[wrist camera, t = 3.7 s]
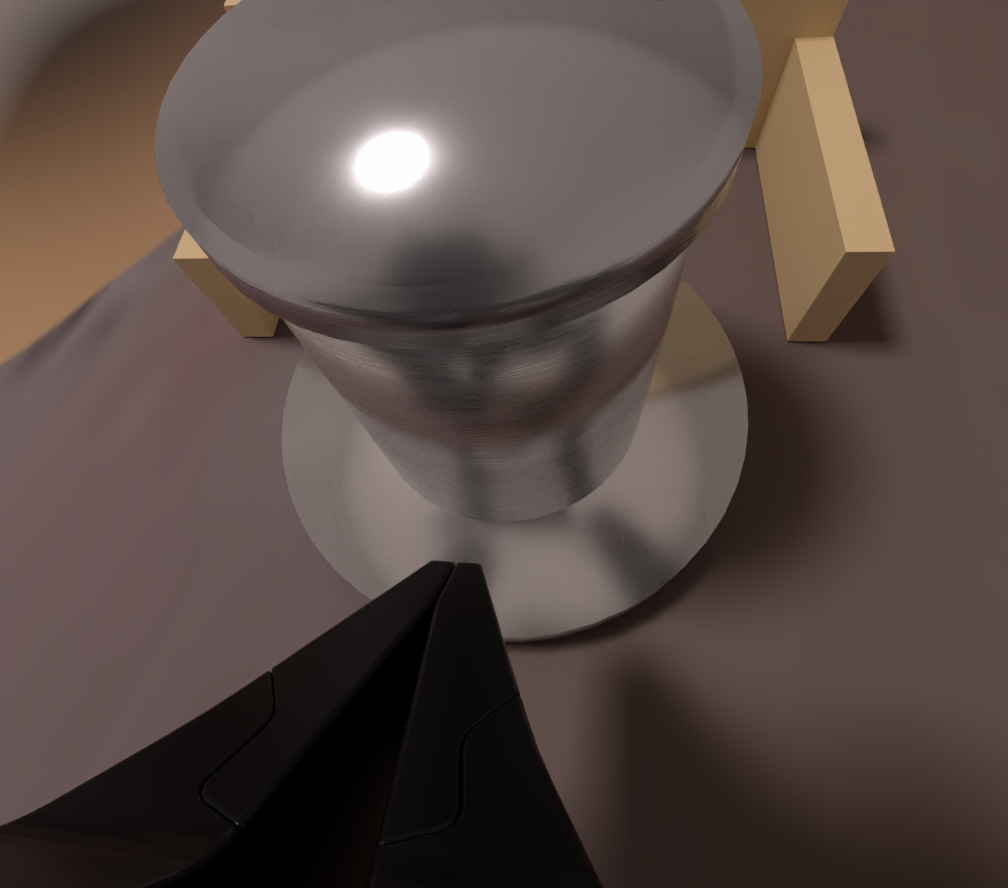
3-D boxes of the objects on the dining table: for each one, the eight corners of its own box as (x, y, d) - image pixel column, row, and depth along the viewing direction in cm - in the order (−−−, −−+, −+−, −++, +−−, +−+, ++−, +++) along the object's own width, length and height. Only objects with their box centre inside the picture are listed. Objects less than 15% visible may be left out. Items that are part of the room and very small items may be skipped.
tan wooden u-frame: (825, 341, 18) (945, 186, 12) (243, 336, 20) (124, 204, 15) (781, 120, 22) (854, -67, 17) (308, 137, 24) (236, -21, 19)
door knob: (757, 662, 14) (1244, 597, 4) (254, 624, 16) (-280, 513, 6) (713, 251, 20) (871, -195, 10) (347, 255, 21) (162, -124, 11)
